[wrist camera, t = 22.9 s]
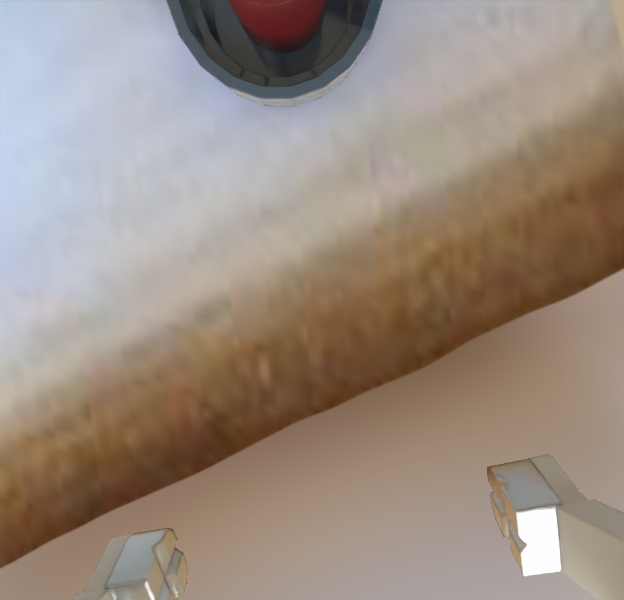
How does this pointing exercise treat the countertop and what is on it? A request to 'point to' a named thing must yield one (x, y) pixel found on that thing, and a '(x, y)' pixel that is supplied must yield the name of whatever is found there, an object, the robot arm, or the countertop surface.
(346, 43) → the bowl
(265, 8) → the can
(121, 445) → the countertop surface
